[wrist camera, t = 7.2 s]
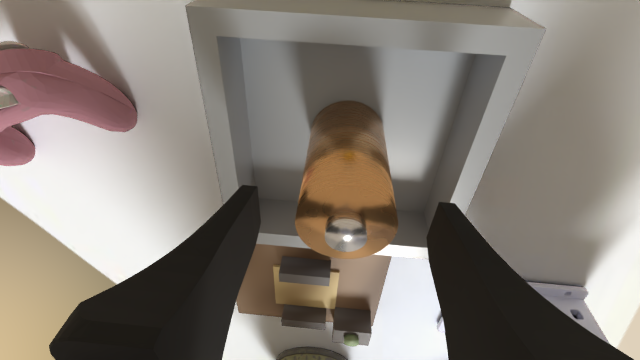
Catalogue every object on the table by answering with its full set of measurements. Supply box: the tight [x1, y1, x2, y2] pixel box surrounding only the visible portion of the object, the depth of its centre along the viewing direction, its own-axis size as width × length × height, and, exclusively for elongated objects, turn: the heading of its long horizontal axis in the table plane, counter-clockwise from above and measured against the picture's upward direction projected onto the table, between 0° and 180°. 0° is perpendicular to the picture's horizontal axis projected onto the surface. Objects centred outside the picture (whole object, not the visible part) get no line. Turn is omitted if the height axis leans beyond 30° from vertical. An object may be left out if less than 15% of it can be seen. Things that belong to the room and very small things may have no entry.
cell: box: [295, 101, 398, 259], centre depth 15 cm, size 4×4×8 cm
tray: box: [185, 0, 546, 259], centre depth 17 cm, size 13×13×4 cm
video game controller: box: [0, 41, 137, 166], centre depth 17 cm, size 10×5×7 cm, turn 110°
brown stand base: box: [236, 244, 391, 346], centre depth 26 cm, size 12×10×4 cm
